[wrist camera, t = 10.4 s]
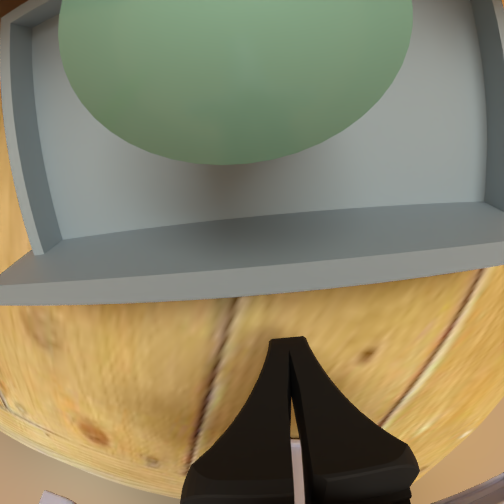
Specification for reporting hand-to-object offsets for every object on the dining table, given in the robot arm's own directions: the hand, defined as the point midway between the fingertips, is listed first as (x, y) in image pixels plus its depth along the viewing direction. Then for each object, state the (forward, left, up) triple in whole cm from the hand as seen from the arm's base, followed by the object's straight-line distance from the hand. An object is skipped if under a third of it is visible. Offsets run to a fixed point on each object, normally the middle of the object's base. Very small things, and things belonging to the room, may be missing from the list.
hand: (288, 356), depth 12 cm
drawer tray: (+10, +3, -3) cm, 11 cm away
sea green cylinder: (+10, +3, -1) cm, 11 cm away
